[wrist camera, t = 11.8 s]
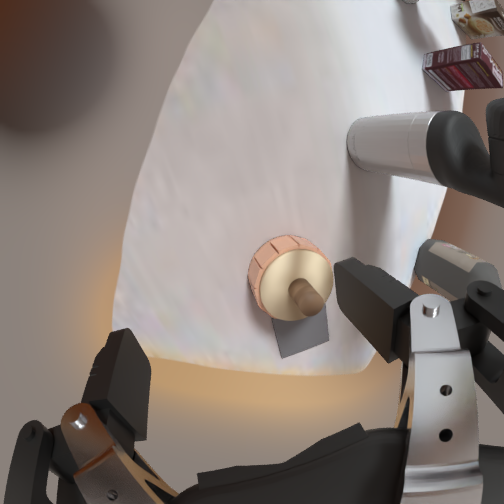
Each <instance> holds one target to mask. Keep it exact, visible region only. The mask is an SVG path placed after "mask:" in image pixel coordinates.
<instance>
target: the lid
mask: <svg viewBox="0 0 504 504" xmlns="http://www.w3.org/2000/svg"><path fill="white" fill-rule="evenodd" d="M332 287H333V273H332V269H331V267H330V265H329V263H328V262H327V261H326V260H325V259H324V258H323V257H322V256H321V255H319V254H318V253H316V252H314V251H312V250H308V249H293V250H289V251H287V252H284V253H282V254H281V255H279V256H277V257H276V258H275V259H274V260H272V261H271V262H270V264H269V265H268V266H267V267H266V269H265V270H264V272H263V274H262V277H261V280H260V284H259V294H260V298H261V301H262V303H263V305H264V307H265V308H266V310H267V311H268V312H269V313H270V314H271V315H272V316H274V317H276V318H278V319H281V320H285V321H295V320H300V319H304V318H306V317H308V316H309V317H310V316H314V315H316V314H318V313H319V312H320V311H321V310H322V308H323V306H324V303H325V302H326V301H327V299H328V297H329V295H330V293H331V290H332Z"/></svg>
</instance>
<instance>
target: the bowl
mask: <svg viewBox="0 0 504 504" xmlns="http://www.w3.org/2000/svg"><path fill="white" fill-rule="evenodd" d="M293 249H308V250H312V251H314V252H316V253H318V254H319V255H321V256H322V257H323V258H324V259H325V260H326V261H327V262H328V263H329V265H330V267H331V263H330V261H329V260H328V258H327V257H326V256H325V255H324V254H323V253H322V252H321V251H320V249H318V248H317V247H316V246H315V245H313V244H312V243H311V242H309V241H308V240H306V239H304V238H301V237H298V236H293V235H285V236H279V237H276V238H273V239H271V240H269V241H268V242H266V243H265V244H263V245H262V246H261V247H260V248H259V249H258V250H257V251H256V253H255V254H254V256H253V258H252V260H251V262H250V265H249V271H248V279H249V283H250V286H251V289H252V292H253V295H254V297H255V299H256V301H257V304H258V306H259V307H260V308H261V309H262V310H263V311H265V312H266V313H267V314H268V315H270V316H271V317H272V318H273V317H274V316H272V315H271V314H270V313H269V312H268V311H267V310H266V308H265V307H264V305H263V303H262V301H261V298H260V294H259V284H260V280H261V277H262V274H263V272H264V270H265V269H266V267H267V266H268V265H269V264H270V262H271V261H272V260H274V259H275V258H276V257H277V256H279V255H281V254H282V253H284V252H287V251H289V250H293ZM331 269H332V267H331ZM274 318H275V319H278V318H276V317H274Z"/></svg>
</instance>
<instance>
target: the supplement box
mask: <svg viewBox="0 0 504 504" xmlns="http://www.w3.org/2000/svg"><path fill="white" fill-rule="evenodd" d="M422 70H424V71H425V72H426V73H427V74H428V75H429V76H430V77H431V78H433V79H434V80H435V81H436V82H437V83H438V84H439V85H440V86H441V87H442V88H443V89H444V90H445V91H456V90H468V89H485V88H503V74H502V70H501V69H500V67H499V66H498V64H497V63H496V62H495V60H494V59H493V57H492V56H491V55H490V53H489V52H488V51H487V49H486V48H485V47H484V46H483V44H482V43H481V42H480V43H473V44H467V45H462V46H457V47H453V48H448V49H444V50H439V51H435V52H431V53H427V54H424V60H423V68H422Z"/></svg>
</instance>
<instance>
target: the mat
mask: <svg viewBox="0 0 504 504" xmlns="http://www.w3.org/2000/svg"><path fill="white" fill-rule="evenodd" d="M272 322H273V326H274V330H275V333H276V337H277V341H278V345H279V349H280V353H281V357H282V358H285V357H287V356H290V355H293V354H296V353H298V352H301V351H304V350H306V349H309V348H311V347H314V346H317V345H319V344H322V343H324V342H326V341H329V334H328V324H327V315H326V306H325V303H324V306H323V308H322V310H321V311H320V312H319V313H318V314H316V315H314V316H310V317H309V316H308V317H306V318H304V319H300V320H295V321H285V320H281V319H275V318H274V317H273V318H272Z"/></svg>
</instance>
